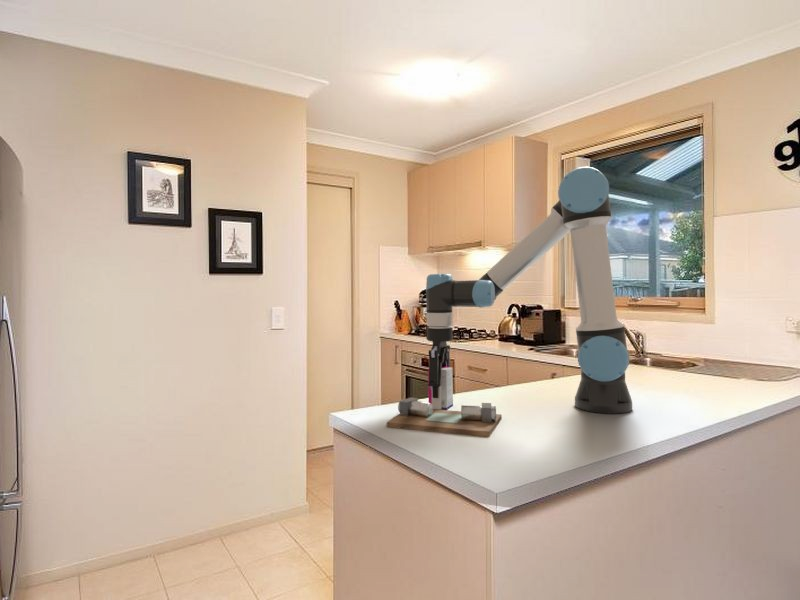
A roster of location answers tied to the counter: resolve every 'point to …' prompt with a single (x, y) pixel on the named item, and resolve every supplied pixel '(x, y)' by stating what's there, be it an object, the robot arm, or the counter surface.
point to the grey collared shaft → (479, 413)
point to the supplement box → (444, 388)
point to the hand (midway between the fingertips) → (440, 405)
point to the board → (445, 423)
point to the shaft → (414, 408)
